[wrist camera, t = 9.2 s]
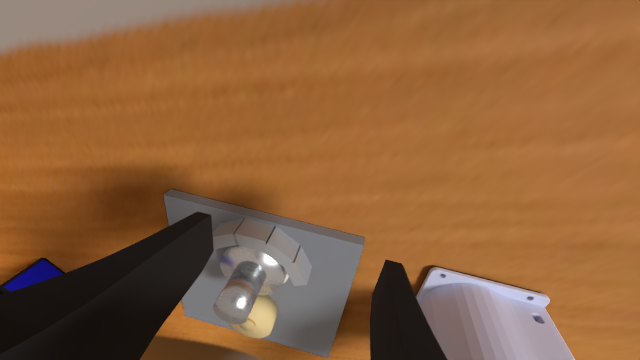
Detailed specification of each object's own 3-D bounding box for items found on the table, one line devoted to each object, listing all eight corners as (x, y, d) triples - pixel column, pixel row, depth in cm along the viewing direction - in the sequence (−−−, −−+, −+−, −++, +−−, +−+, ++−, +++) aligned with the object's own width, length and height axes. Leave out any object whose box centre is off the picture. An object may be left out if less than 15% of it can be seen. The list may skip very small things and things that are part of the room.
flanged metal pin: (289, 242, 24) (266, 296, 19) (288, 288, 27) (267, 344, 22) (225, 229, 24) (187, 277, 20) (230, 275, 27) (199, 326, 23)
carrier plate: (364, 237, 23) (362, 267, 20) (329, 349, 32) (324, 381, 29) (170, 188, 25) (142, 210, 22) (189, 308, 34) (171, 334, 31)
